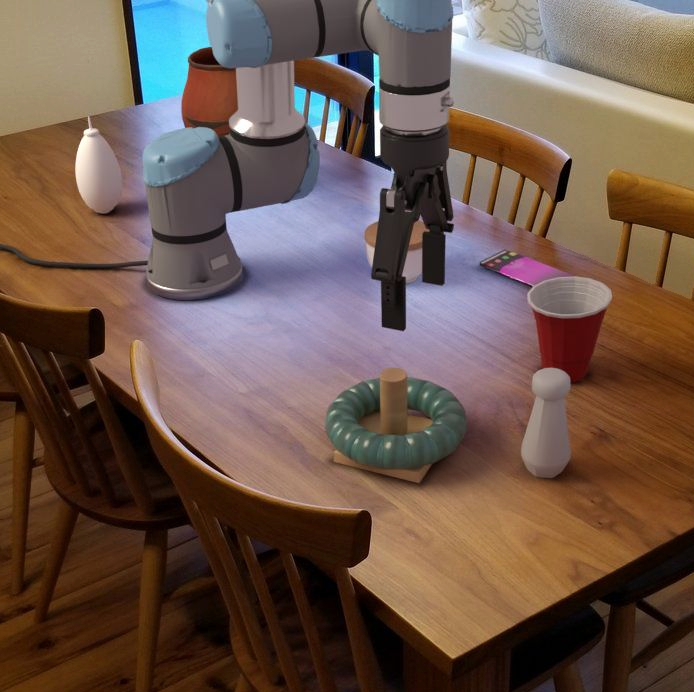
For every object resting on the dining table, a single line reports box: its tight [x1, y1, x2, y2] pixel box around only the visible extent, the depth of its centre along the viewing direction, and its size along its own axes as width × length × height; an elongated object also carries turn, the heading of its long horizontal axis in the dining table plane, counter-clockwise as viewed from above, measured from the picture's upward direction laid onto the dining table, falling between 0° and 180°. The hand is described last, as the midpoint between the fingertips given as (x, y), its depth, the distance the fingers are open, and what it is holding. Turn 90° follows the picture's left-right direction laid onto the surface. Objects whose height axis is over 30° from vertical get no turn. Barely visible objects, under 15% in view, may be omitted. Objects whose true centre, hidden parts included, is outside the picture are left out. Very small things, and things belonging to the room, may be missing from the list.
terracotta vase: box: [180, 46, 238, 137], centre depth 199 cm, size 19×19×25 cm
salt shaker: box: [520, 368, 572, 479], centre depth 123 cm, size 6×6×13 cm
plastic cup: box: [526, 275, 613, 384], centre depth 141 cm, size 11×11×12 cm
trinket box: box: [364, 219, 429, 285], centre depth 168 cm, size 11×11×9 cm
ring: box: [324, 376, 468, 470], centre depth 130 cm, size 17×17×4 cm
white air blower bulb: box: [74, 115, 123, 215], centre depth 193 cm, size 8×8×18 cm
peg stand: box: [333, 367, 433, 484], centre depth 128 cm, size 11×11×10 cm
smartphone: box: [478, 249, 578, 288], centre depth 170 cm, size 7×15×1 cm, turn 44°
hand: (414, 304), depth 127 cm, fingers open, 12 cm apart
